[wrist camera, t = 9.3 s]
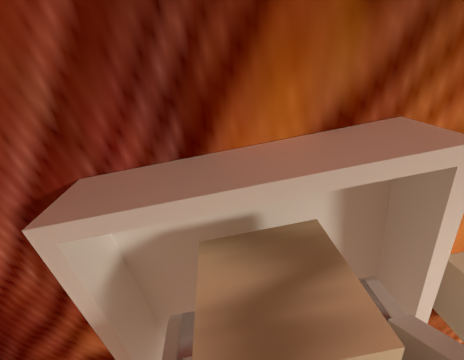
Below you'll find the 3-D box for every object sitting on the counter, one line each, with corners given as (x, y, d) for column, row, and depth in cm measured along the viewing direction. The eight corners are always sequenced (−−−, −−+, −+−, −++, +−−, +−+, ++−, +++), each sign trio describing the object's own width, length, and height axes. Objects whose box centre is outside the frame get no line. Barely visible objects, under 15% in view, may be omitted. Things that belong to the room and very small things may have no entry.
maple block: (316, 219, 10) (405, 347, 5) (317, 297, 12) (381, 434, 8) (198, 241, 10) (190, 388, 5) (221, 316, 12) (228, 463, 8)
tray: (401, 116, 12) (486, 140, 8) (369, 333, 20) (404, 393, 16) (79, 179, 12) (21, 230, 8) (179, 369, 20) (172, 438, 16)
